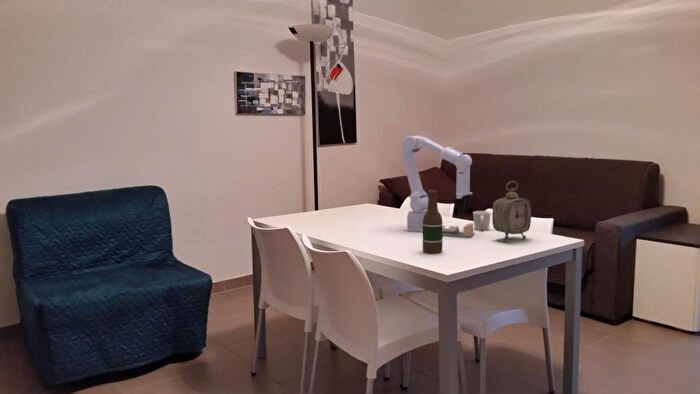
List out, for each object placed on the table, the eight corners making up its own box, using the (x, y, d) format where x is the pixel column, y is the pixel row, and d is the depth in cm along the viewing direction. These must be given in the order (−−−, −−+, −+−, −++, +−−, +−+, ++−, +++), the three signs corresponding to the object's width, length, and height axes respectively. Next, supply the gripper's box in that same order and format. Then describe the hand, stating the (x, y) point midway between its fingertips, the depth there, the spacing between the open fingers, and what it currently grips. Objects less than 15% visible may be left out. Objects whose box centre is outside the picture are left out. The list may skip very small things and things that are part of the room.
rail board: (427, 234, 244) (427, 223, 243) (433, 231, 251) (433, 220, 250) (470, 238, 236) (470, 226, 235) (474, 234, 243) (474, 223, 242)
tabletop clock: (506, 244, 223) (507, 183, 220) (490, 240, 230) (491, 181, 227) (530, 239, 230) (532, 180, 227) (513, 236, 238) (514, 179, 235)
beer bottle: (420, 249, 216) (420, 189, 213) (439, 249, 216) (440, 188, 213) (424, 254, 208) (424, 191, 205) (444, 253, 209) (445, 191, 206)
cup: (491, 232, 247) (491, 214, 246) (473, 231, 249) (473, 214, 248) (490, 227, 258) (490, 211, 257) (472, 227, 259) (472, 210, 258)
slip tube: (432, 232, 245) (432, 225, 245) (434, 231, 248) (434, 224, 248) (456, 234, 241) (456, 227, 240) (458, 233, 244) (458, 225, 243)
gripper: (468, 184, 232) (467, 215, 234) (475, 180, 245) (475, 210, 247) (451, 183, 235) (451, 214, 237) (460, 180, 248) (459, 209, 250)
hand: (462, 212), depth 242 cm, fingers open, 7 cm apart
